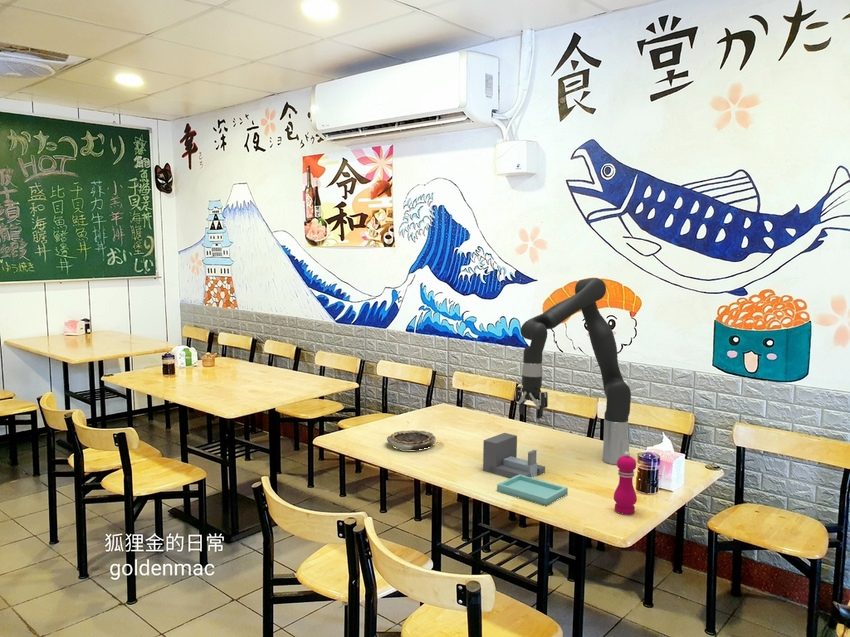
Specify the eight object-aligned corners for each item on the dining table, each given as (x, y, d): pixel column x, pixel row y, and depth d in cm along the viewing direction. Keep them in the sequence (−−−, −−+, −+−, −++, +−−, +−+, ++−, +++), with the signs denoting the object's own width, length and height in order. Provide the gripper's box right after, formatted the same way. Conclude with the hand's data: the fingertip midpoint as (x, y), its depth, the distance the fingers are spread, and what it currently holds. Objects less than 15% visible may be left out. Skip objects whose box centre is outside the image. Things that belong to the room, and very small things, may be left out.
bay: (545, 472, 251) (545, 442, 250) (524, 482, 240) (525, 450, 239) (503, 461, 263) (504, 432, 262) (483, 470, 253) (483, 440, 252)
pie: (455, 450, 280) (455, 438, 279) (399, 461, 266) (399, 449, 265) (420, 433, 304) (420, 423, 303) (368, 443, 289) (367, 432, 289)
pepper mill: (608, 510, 215) (611, 451, 213) (620, 504, 220) (622, 446, 218) (629, 517, 210) (631, 456, 208) (640, 511, 215) (642, 451, 213)
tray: (567, 494, 229) (567, 487, 229) (546, 506, 218) (546, 498, 218) (519, 480, 242) (519, 474, 242) (497, 491, 232) (497, 484, 231)
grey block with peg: (537, 475, 248) (537, 450, 247) (529, 479, 244) (530, 453, 243) (510, 468, 256) (511, 443, 255) (503, 471, 252) (503, 446, 251)
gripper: (553, 376, 246) (551, 418, 247) (524, 370, 257) (523, 410, 258) (540, 378, 241) (538, 421, 243) (511, 372, 252) (509, 413, 253)
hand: (530, 416), depth 250 cm, fingers open, 8 cm apart
